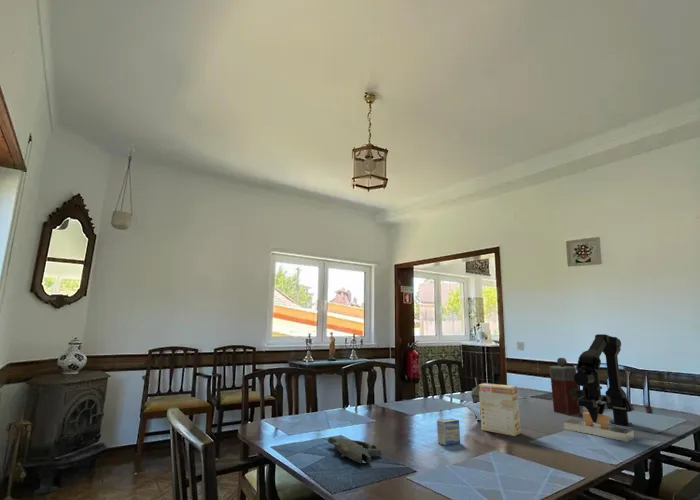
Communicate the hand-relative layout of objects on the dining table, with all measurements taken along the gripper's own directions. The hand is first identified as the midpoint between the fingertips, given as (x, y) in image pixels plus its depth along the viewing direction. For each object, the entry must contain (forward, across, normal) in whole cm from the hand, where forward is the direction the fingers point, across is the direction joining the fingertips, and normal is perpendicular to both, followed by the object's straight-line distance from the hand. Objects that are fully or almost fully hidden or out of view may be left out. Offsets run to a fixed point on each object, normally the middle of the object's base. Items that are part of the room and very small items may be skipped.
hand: (596, 421), depth 167 cm
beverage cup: (+5, +19, -45) cm, 49 cm away
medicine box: (+5, +61, -30) cm, 68 cm away
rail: (+5, 0, 0) cm, 5 cm away
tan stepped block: (+4, 0, 0) cm, 4 cm away
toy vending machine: (+5, -31, -26) cm, 41 cm away
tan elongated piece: (+5, +98, -43) cm, 107 cm away
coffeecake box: (+5, +30, -27) cm, 41 cm away
